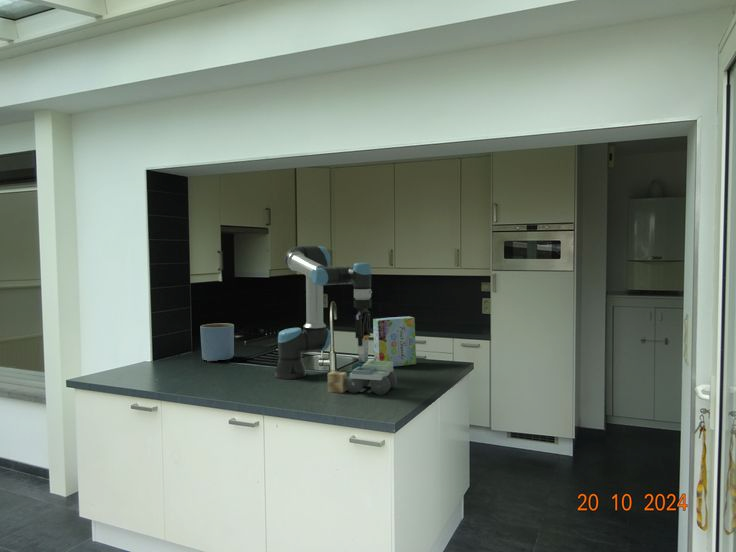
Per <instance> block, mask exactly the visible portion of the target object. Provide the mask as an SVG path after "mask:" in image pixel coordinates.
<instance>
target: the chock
mask: <svg viewBox="0 0 736 552" xmlns="http://www.w3.org/2000/svg"><path fill="white" fill-rule="evenodd" d="M346 378H347V375H346V372H335V371H330V372H328V373H327V393H328V392H329V393H340V394H343V393H345V392H346V391H348V390H347V389H346V387H345V380H346Z"/></svg>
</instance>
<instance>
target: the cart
mask: <svg viewBox="0 0 736 552" xmlns="http://www.w3.org/2000/svg"><path fill="white" fill-rule="evenodd" d="M351 371H352V373H350V375H349V376H348V377H347V378H346V380H345V387H346V389H347V390H346V391H348V392H349V393H351V394H356V393H359V391H362V390H363V388H365V387H367V386H368V385H370V389H371V391H372V392H373V393H374V394H376V395H378V396H382V395H385V394H387V392H388V391H390V390H391V389H392V388H394V387H395V386H396V385H397V383H398V378H397V374H396V373H395V371H394V367H392V368H391V369H390V370H388V371H387V372H385V371H376V368H374V367H363V366H362V367H357V368H355V369H353V370H352V369H351Z"/></svg>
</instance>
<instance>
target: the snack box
mask: <svg viewBox="0 0 736 552" xmlns="http://www.w3.org/2000/svg"><path fill="white" fill-rule="evenodd" d="M415 322H416V321H415V317H413V316H409V315H408V316H397V317H394V316H393V317H381V318H373V319H372V325H373V327H372V329H373V330H372V331H373V353H374V360H375V361H393V368H394V367H401V366H412V365H417V351H416V349H417V347H416V346H417V345H416V323H415Z"/></svg>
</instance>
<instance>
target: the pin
mask: <svg viewBox="0 0 736 552" xmlns="http://www.w3.org/2000/svg"><path fill="white" fill-rule="evenodd" d="M363 338H364V354H362V353H358V361H359V362H362V361H366V362H368V361H369V339H370V336H369V335H365V334H363Z"/></svg>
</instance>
